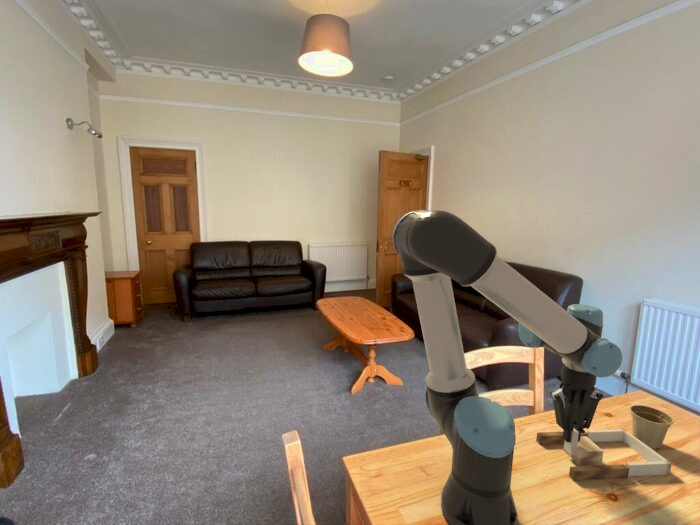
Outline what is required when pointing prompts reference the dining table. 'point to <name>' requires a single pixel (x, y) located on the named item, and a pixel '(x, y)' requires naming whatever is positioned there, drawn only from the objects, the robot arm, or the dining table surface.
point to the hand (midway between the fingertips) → (570, 452)
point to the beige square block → (587, 453)
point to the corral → (655, 461)
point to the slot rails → (585, 471)
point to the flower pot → (650, 425)
